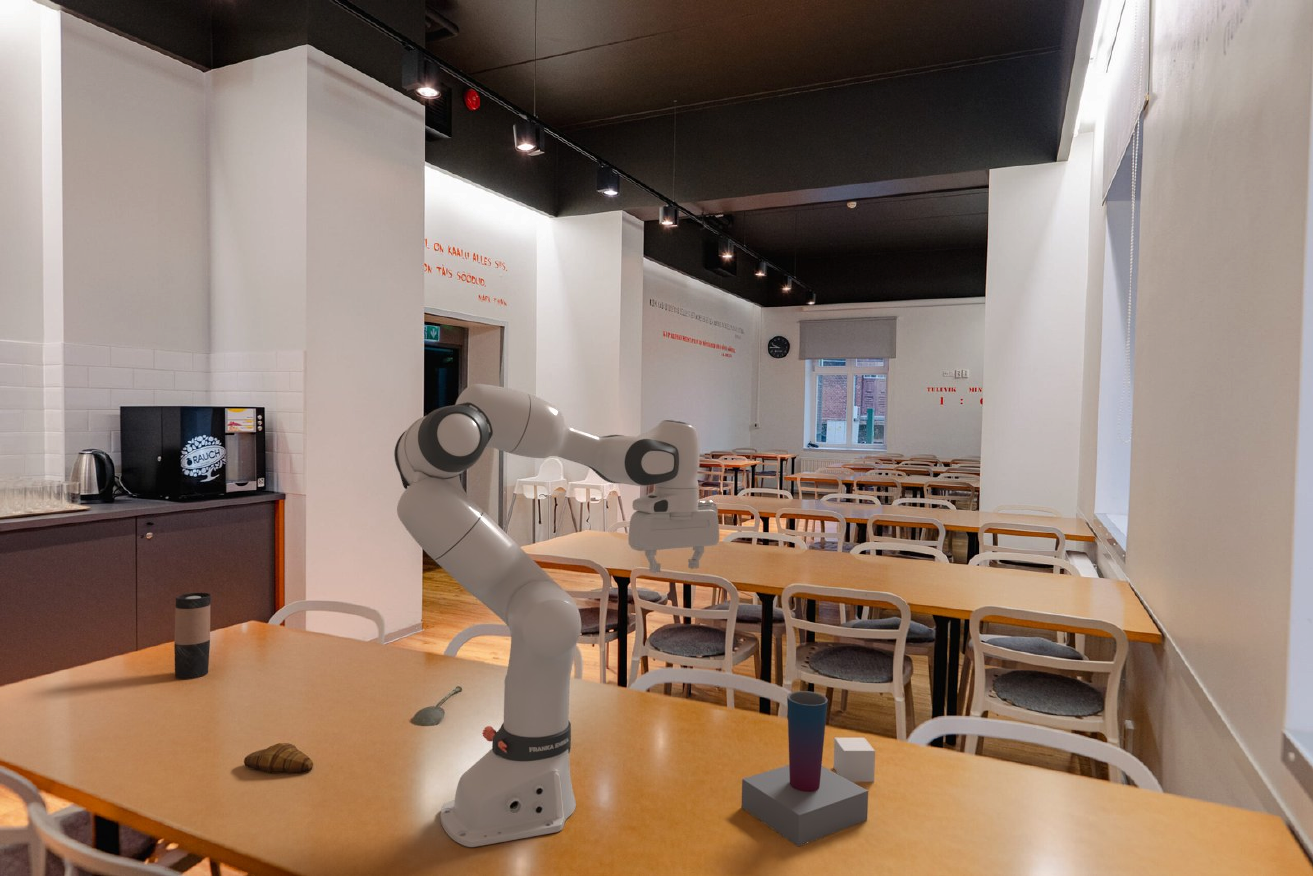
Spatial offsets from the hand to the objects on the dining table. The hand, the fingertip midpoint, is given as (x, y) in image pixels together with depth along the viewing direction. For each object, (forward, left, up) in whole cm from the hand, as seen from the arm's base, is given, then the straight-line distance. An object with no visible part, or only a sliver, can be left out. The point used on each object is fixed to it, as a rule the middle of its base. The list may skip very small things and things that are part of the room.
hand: (674, 570), depth 149 cm
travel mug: (-80, +97, -37) cm, 131 cm away
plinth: (+7, -31, -37) cm, 49 cm away
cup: (+7, -31, -32) cm, 45 cm away
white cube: (+26, -25, -37) cm, 52 cm away
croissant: (-67, +31, -38) cm, 83 cm away
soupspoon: (-32, +46, -38) cm, 68 cm away
